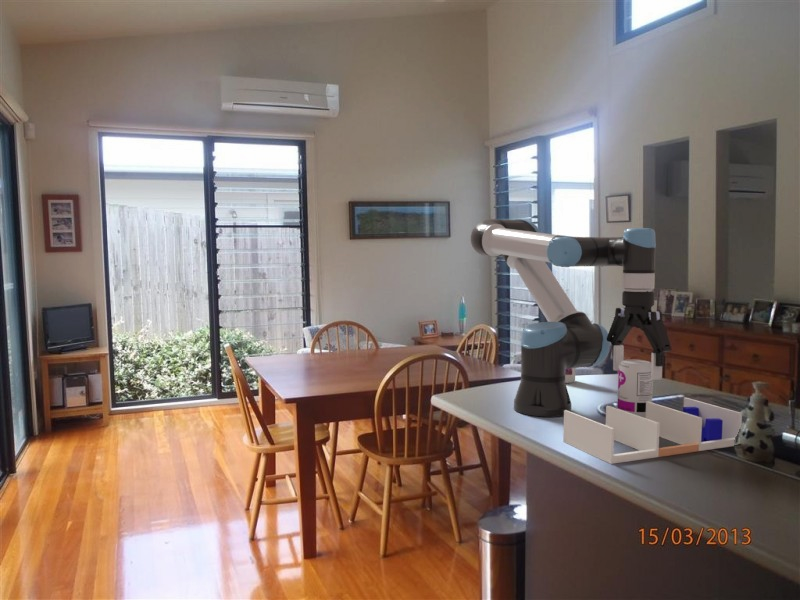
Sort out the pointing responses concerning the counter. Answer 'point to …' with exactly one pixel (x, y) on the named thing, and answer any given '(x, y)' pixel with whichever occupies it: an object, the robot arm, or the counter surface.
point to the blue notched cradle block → (707, 425)
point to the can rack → (649, 431)
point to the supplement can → (634, 386)
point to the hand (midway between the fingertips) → (636, 374)
